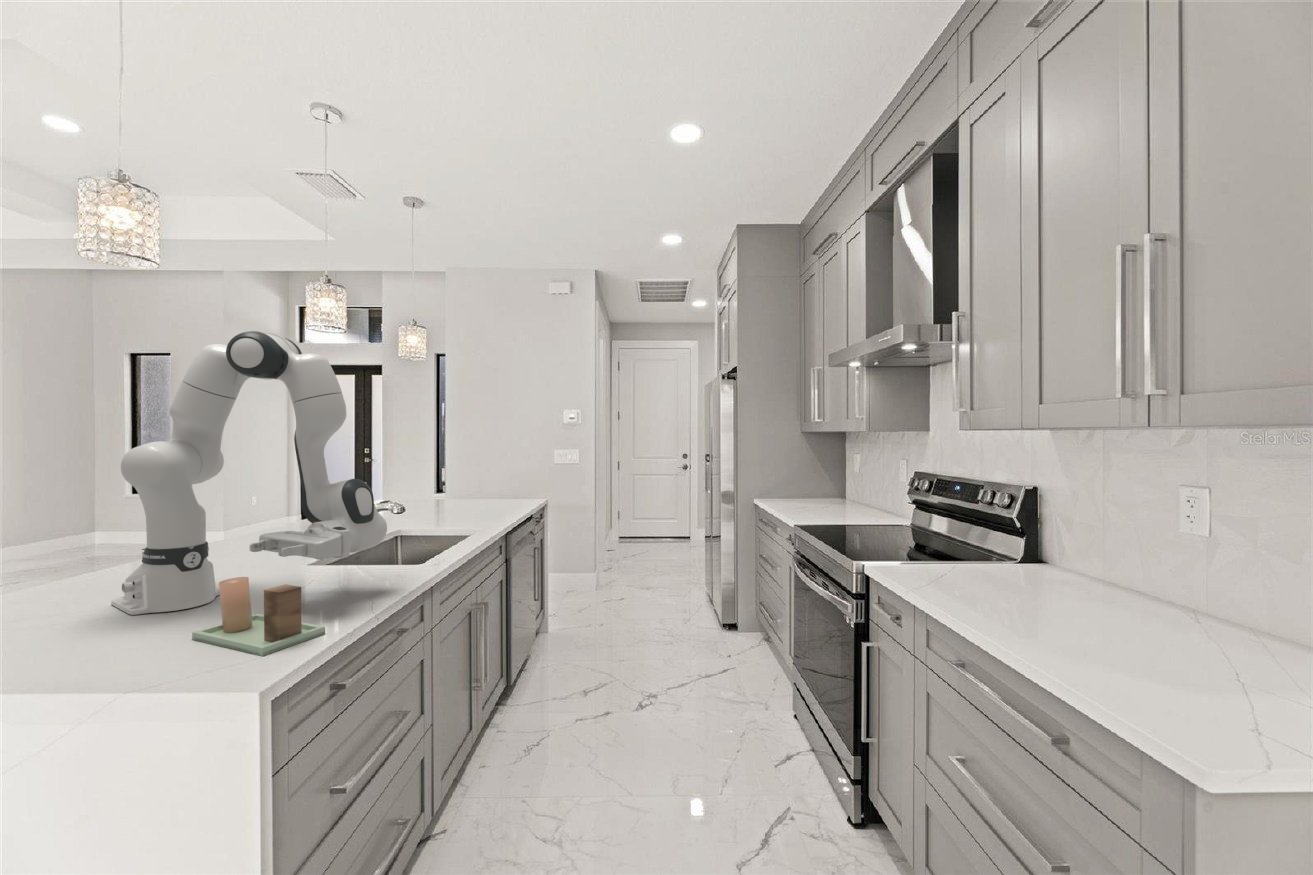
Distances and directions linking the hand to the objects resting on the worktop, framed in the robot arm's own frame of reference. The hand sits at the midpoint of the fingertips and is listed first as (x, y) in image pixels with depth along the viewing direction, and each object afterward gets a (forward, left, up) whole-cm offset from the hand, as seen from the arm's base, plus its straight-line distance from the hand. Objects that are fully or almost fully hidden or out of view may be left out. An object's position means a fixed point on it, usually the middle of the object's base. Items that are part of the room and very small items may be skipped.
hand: (265, 550), depth 130 cm
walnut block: (+14, -6, -15) cm, 22 cm away
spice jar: (0, -6, -15) cm, 16 cm away
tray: (+7, -6, -16) cm, 18 cm away
